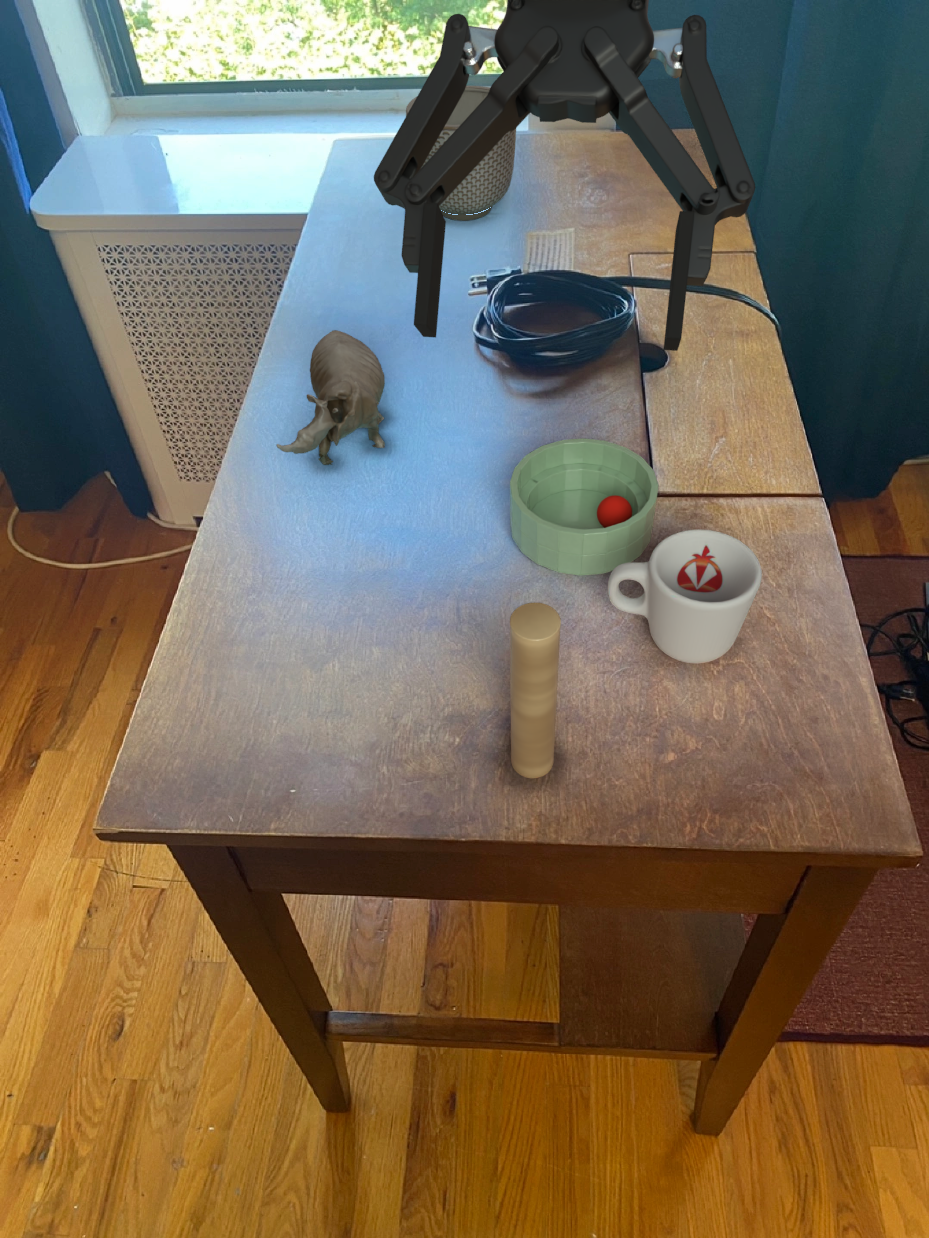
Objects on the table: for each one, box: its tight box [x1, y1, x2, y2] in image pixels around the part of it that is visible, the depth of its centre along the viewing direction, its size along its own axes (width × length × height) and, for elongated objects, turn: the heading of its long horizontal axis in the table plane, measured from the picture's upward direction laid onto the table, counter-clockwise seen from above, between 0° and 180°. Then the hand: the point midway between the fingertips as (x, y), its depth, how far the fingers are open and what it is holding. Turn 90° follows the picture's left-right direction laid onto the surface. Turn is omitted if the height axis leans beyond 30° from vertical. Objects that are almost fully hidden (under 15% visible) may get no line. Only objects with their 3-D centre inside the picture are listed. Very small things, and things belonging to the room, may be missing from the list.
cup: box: [607, 528, 763, 664], centre depth 69 cm, size 11×8×8 cm
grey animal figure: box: [276, 329, 386, 466], centre depth 88 cm, size 8×14×15 cm
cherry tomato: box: [597, 495, 632, 528], centre depth 79 cm, size 3×3×3 cm
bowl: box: [509, 437, 660, 577], centre depth 78 cm, size 12×12×6 cm
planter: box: [405, 85, 517, 222], centre depth 118 cm, size 14×14×13 cm
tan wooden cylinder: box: [509, 601, 562, 779], centre depth 59 cm, size 3×3×15 cm
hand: (546, 338), depth 50 cm, fingers open, 13 cm apart
